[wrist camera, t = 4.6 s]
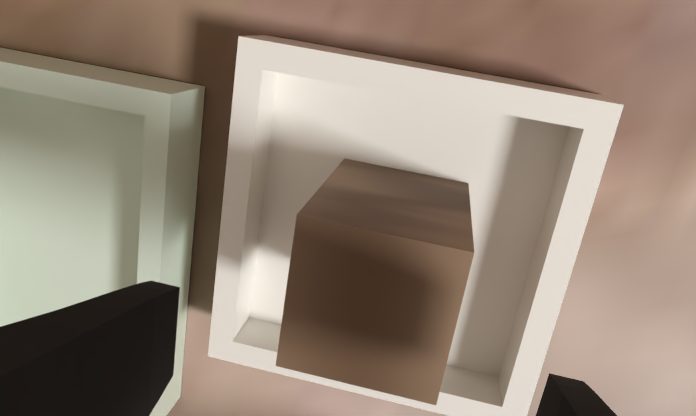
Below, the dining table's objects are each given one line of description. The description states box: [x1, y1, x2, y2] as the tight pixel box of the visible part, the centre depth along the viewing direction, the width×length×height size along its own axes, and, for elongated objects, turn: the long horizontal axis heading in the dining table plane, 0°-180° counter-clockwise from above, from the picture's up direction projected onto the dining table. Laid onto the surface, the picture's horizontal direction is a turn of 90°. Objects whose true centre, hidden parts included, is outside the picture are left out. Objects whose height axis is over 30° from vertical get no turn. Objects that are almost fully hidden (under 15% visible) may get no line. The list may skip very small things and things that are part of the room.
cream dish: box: [208, 35, 624, 416], centre depth 19 cm, size 11×11×2 cm
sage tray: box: [0, 47, 205, 416], centre depth 21 cm, size 10×13×2 cm
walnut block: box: [276, 158, 474, 405], centre depth 16 cm, size 4×4×6 cm
